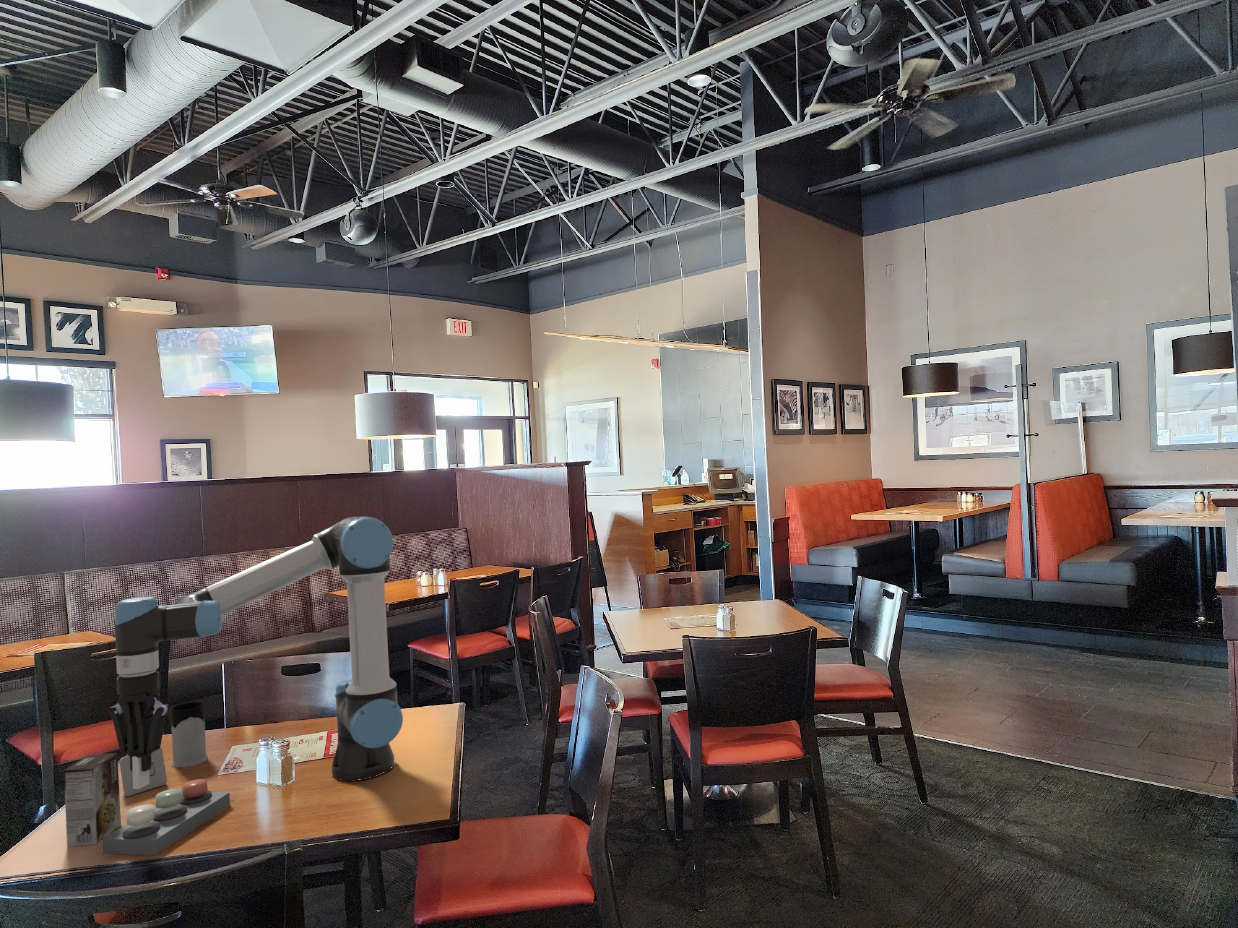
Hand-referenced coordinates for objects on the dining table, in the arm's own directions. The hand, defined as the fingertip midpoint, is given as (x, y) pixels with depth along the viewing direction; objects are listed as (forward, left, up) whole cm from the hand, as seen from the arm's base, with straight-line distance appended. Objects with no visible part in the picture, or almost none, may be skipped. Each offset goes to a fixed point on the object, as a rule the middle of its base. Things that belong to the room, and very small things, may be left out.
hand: (141, 785), depth 159 cm
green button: (0, -7, -7) cm, 10 cm away
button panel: (0, -7, -12) cm, 14 cm away
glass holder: (+27, -47, -12) cm, 55 cm away
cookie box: (+14, -3, -12) cm, 19 cm away
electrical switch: (+24, -27, -12) cm, 38 cm away
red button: (0, -15, -8) cm, 17 cm away
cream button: (0, +1, -7) cm, 7 cm away
